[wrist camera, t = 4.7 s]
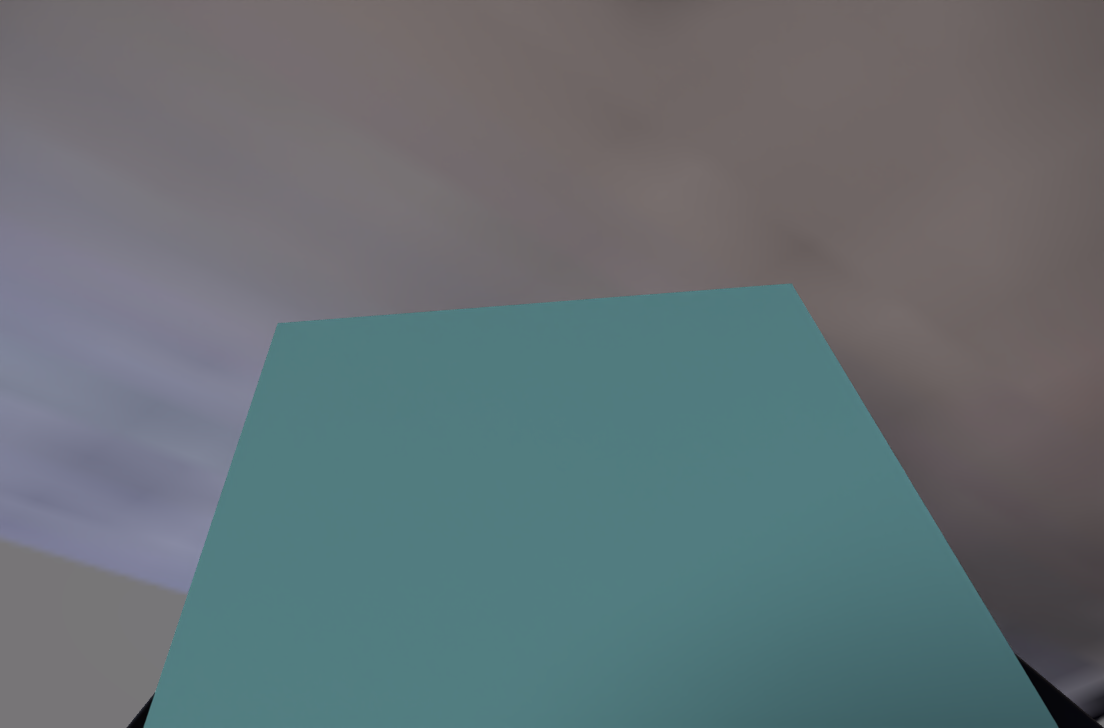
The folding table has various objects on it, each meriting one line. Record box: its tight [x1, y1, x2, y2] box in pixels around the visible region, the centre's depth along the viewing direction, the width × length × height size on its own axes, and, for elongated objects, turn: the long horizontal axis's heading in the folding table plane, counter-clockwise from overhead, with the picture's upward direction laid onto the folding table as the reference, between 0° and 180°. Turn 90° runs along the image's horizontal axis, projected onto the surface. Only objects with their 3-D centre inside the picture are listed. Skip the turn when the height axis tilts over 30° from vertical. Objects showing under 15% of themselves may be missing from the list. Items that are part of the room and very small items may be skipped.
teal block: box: [144, 284, 1059, 728], centre depth 8 cm, size 5×5×5 cm
